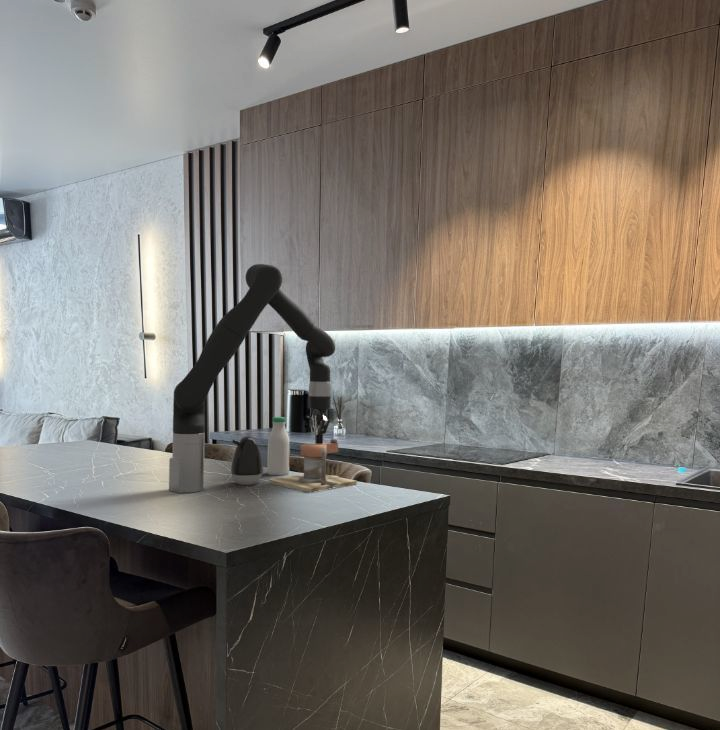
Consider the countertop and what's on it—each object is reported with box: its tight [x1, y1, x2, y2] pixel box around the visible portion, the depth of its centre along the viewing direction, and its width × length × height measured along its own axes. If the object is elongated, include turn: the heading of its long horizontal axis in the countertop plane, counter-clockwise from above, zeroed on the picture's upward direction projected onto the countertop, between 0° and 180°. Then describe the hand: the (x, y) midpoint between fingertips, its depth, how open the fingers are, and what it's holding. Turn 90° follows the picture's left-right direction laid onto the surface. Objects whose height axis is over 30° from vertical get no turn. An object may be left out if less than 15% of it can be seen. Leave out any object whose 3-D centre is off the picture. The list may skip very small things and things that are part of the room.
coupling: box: [299, 438, 339, 457], centre depth 193 cm, size 14×8×4 cm, turn 135°
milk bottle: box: [266, 416, 291, 476], centre depth 209 cm, size 8×8×20 cm
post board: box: [268, 448, 358, 493], centre depth 191 cm, size 20×20×12 cm
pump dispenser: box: [230, 436, 264, 486], centre depth 189 cm, size 10×10×15 cm
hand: (318, 445), depth 201 cm, fingers closed
